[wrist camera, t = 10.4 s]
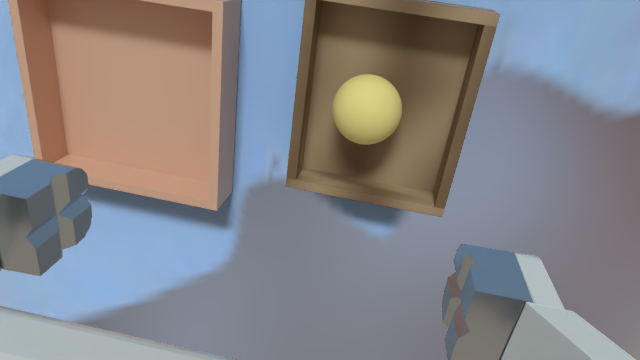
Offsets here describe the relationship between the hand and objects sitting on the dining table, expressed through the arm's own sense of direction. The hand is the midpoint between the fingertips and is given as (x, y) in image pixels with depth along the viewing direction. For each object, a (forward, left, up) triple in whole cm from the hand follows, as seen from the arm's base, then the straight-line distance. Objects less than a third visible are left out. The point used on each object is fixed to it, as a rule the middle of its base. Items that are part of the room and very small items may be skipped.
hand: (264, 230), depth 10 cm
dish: (-14, -4, -20) cm, 25 cm away
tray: (+2, -2, -20) cm, 20 cm away
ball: (+1, -2, -17) cm, 18 cm away
